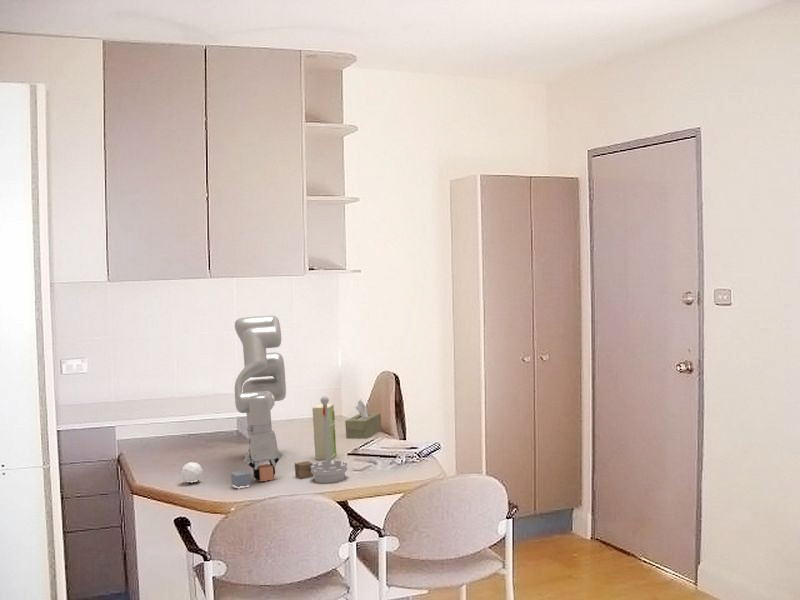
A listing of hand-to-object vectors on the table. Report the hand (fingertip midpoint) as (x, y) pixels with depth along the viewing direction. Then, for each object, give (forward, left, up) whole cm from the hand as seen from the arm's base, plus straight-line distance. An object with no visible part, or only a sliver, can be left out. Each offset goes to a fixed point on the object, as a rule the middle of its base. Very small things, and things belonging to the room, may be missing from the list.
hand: (264, 477), depth 329 cm
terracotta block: (0, 0, -1) cm, 1 cm away
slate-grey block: (+3, -10, -1) cm, 11 cm away
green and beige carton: (-17, +33, -1) cm, 37 cm away
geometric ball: (-16, -22, -1) cm, 27 cm away
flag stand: (+15, +19, -1) cm, 24 cm away
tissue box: (-48, +66, -1) cm, 82 cm away
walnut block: (+5, +13, -1) cm, 14 cm away
